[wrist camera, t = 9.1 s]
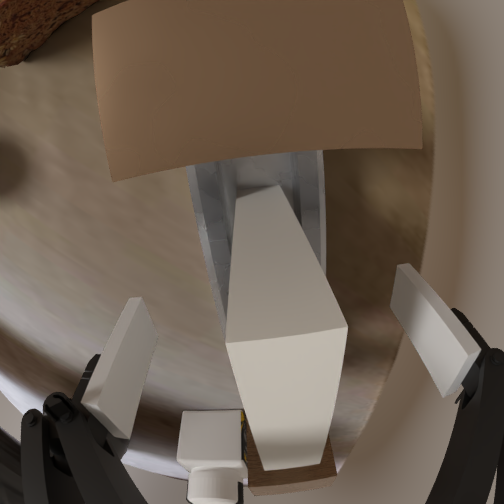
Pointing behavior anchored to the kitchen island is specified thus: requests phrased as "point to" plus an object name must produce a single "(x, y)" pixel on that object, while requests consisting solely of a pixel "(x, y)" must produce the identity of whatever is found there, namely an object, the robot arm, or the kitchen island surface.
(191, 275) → the kitchen island surface
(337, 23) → the wood and metal rack
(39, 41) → the bread
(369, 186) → the kitchen island surface
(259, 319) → the door panel
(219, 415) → the medicine bottle
